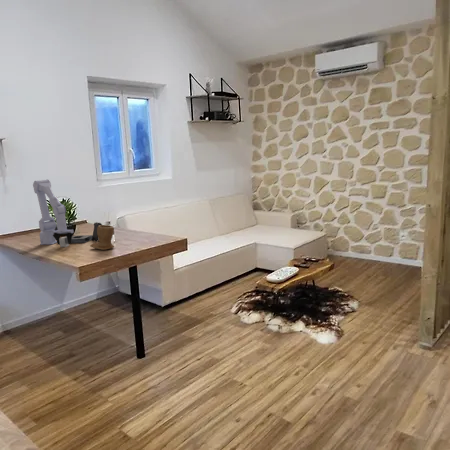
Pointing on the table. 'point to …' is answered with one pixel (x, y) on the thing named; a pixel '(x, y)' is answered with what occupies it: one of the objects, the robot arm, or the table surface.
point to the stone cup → (104, 237)
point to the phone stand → (95, 232)
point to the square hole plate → (81, 238)
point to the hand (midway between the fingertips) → (64, 243)
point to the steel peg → (63, 242)
